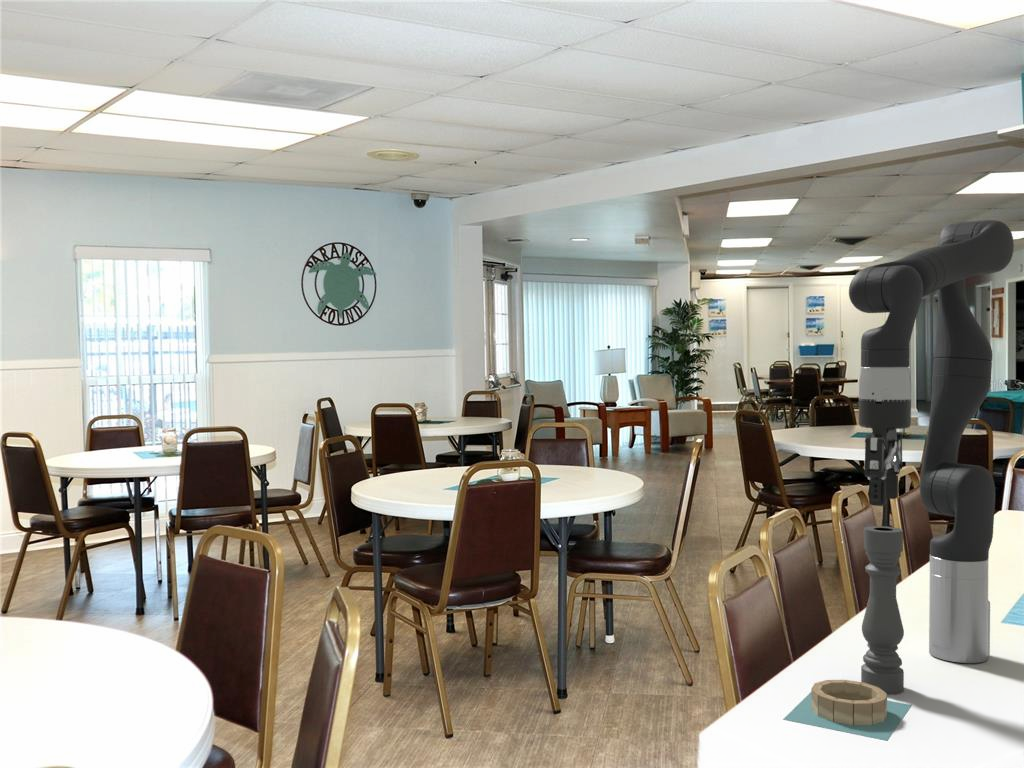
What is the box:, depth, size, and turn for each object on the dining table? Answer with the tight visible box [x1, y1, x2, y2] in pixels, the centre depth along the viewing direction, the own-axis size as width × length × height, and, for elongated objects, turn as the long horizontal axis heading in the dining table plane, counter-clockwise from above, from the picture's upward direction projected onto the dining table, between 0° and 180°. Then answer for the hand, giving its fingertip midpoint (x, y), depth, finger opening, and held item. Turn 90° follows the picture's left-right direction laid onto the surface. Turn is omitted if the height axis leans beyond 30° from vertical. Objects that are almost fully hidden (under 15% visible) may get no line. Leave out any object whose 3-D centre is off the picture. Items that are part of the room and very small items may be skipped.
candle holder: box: [860, 525, 905, 696], centre depth 149 cm, size 6×6×25 cm
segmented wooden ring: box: [810, 679, 888, 725], centre depth 139 cm, size 10×10×3 cm
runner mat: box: [782, 691, 913, 742], centre depth 139 cm, size 16×14×1 cm
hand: (883, 501), depth 148 cm, fingers open, 8 cm apart
